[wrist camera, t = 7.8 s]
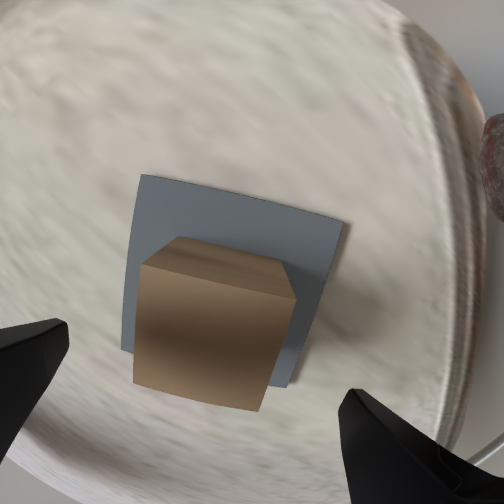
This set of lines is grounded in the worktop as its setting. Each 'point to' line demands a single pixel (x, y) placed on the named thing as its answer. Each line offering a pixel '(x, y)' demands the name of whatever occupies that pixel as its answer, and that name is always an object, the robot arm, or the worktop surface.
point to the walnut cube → (210, 322)
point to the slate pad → (234, 247)
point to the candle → (493, 163)
